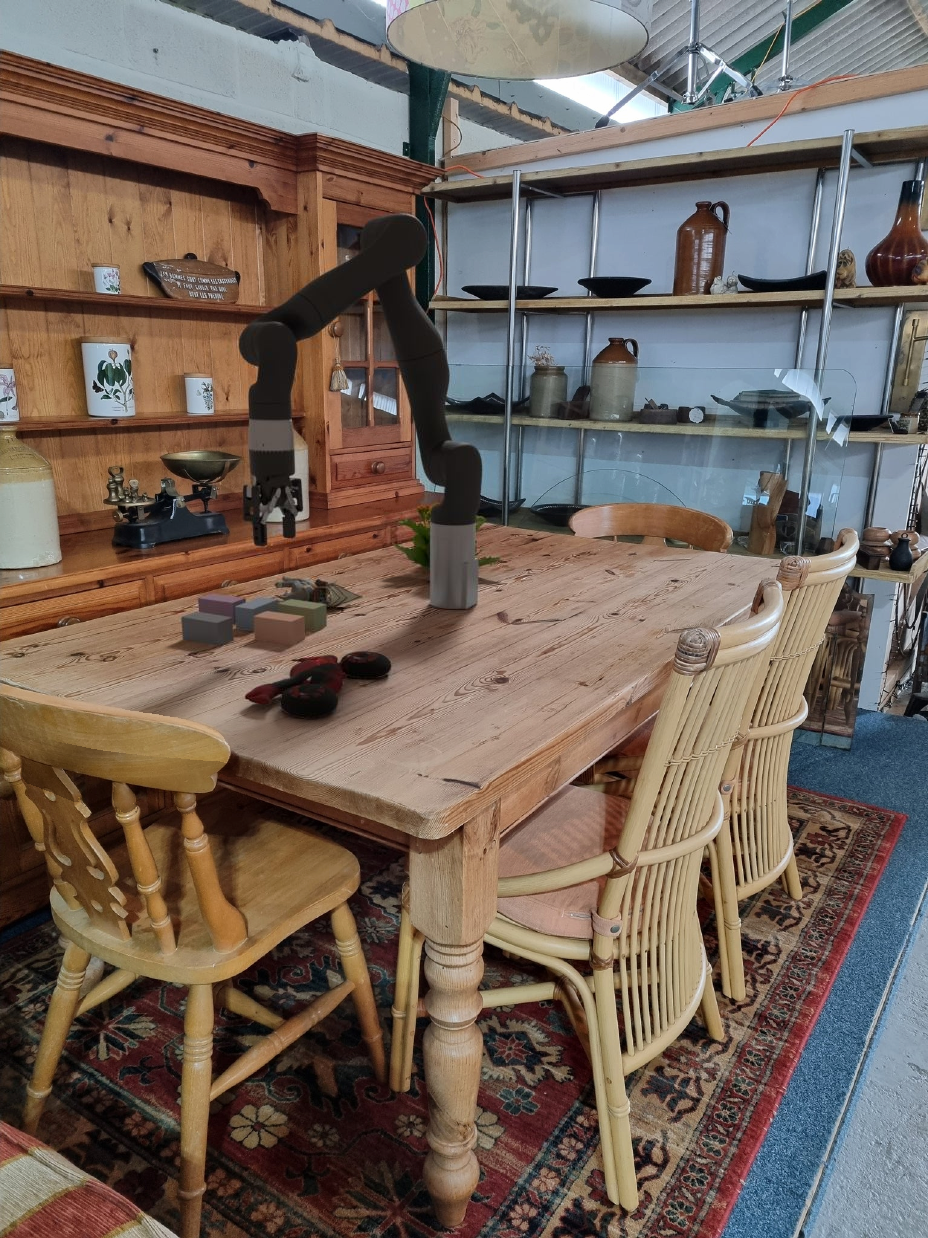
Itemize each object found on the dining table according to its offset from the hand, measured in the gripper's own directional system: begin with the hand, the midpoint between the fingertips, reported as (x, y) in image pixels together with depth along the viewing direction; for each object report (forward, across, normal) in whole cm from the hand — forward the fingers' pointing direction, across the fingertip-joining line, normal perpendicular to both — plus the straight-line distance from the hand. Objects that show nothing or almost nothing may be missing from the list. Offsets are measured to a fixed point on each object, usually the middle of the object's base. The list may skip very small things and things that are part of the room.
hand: (275, 541), depth 151 cm
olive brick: (+18, +9, +1) cm, 20 cm away
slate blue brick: (+18, +6, +9) cm, 21 cm away
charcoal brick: (+18, -6, +11) cm, 22 cm away
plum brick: (+18, +6, +17) cm, 25 cm away
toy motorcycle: (+18, -19, -20) cm, 33 cm away
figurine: (+18, +23, +6) cm, 30 cm away
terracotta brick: (+18, 0, 0) cm, 18 cm away
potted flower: (+18, +61, -7) cm, 64 cm away
